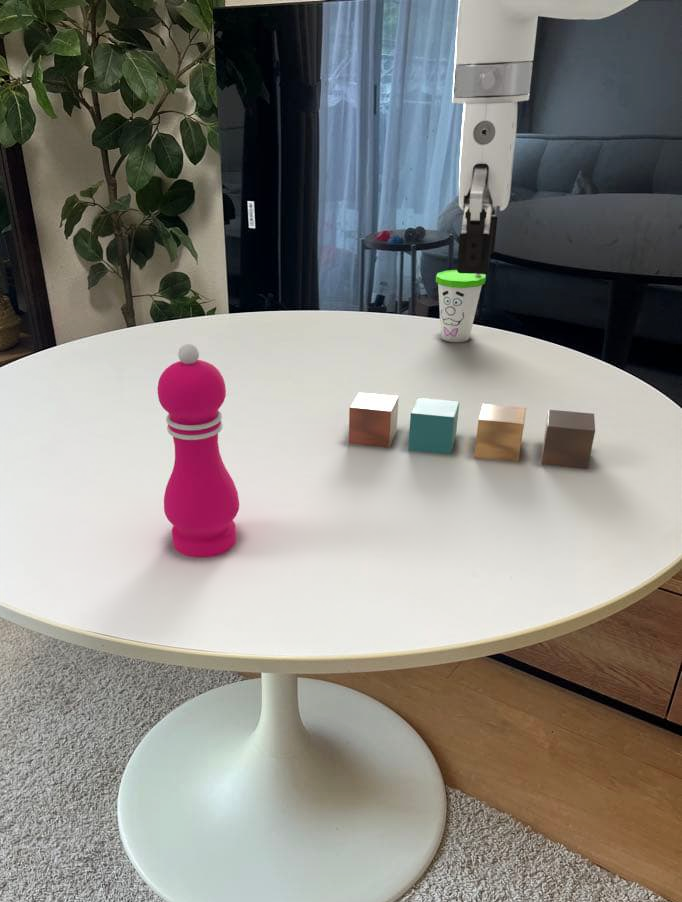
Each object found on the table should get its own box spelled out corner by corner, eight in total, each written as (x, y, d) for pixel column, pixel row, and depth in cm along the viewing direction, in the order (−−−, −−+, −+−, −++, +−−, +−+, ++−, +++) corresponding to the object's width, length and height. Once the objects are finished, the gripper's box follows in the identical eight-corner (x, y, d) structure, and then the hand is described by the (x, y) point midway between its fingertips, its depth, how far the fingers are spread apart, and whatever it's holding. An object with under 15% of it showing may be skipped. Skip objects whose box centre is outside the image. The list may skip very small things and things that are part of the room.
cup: (423, 342, 129) (429, 246, 121) (443, 329, 134) (450, 237, 127) (468, 350, 125) (478, 251, 117) (486, 336, 131) (497, 242, 123)
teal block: (455, 439, 97) (459, 401, 94) (450, 456, 93) (454, 417, 90) (414, 435, 98) (417, 397, 95) (408, 452, 94) (410, 413, 91)
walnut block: (586, 453, 93) (594, 413, 90) (587, 471, 89) (595, 430, 86) (542, 448, 94) (548, 409, 91) (540, 466, 90) (547, 426, 87)
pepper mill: (248, 526, 80) (238, 332, 70) (232, 565, 74) (218, 359, 64) (180, 521, 81) (160, 330, 71) (158, 559, 75) (133, 356, 65)
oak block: (520, 446, 95) (526, 407, 92) (518, 464, 91) (524, 424, 88) (477, 442, 96) (482, 403, 93) (473, 459, 92) (478, 419, 89)
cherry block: (396, 433, 99) (398, 395, 96) (389, 450, 95) (391, 411, 92) (357, 429, 100) (358, 392, 97) (348, 445, 96) (349, 407, 93)
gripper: (528, 86, 70) (507, 282, 79) (532, 80, 85) (514, 247, 93) (443, 90, 72) (432, 280, 81) (461, 83, 87) (450, 246, 95)
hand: (476, 262), depth 87 cm, fingers open, 9 cm apart
